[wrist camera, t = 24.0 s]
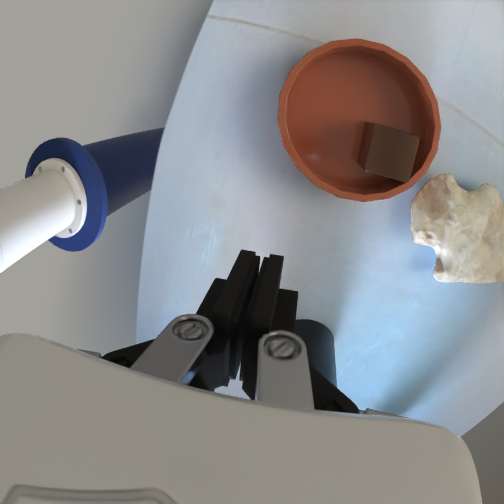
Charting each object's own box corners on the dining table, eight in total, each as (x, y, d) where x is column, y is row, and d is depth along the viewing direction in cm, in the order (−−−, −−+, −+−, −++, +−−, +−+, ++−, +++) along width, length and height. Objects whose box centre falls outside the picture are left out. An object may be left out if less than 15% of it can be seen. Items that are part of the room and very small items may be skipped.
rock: (436, 144, 27) (531, 226, 27) (381, 243, 33) (483, 301, 33) (450, 149, 23) (546, 237, 24) (388, 258, 30) (493, 317, 30)
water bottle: (256, 325, 41) (213, 478, 21) (327, 305, 38) (325, 475, 18) (284, 371, 45) (260, 508, 24) (347, 356, 41) (350, 503, 21)
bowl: (275, 177, 32) (270, 187, 28) (288, 39, 25) (285, 28, 21) (410, 201, 30) (423, 214, 26) (430, 68, 23) (447, 64, 19)
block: (356, 162, 29) (364, 170, 25) (365, 121, 27) (374, 122, 23) (396, 173, 28) (408, 183, 24) (405, 133, 26) (420, 137, 22)
